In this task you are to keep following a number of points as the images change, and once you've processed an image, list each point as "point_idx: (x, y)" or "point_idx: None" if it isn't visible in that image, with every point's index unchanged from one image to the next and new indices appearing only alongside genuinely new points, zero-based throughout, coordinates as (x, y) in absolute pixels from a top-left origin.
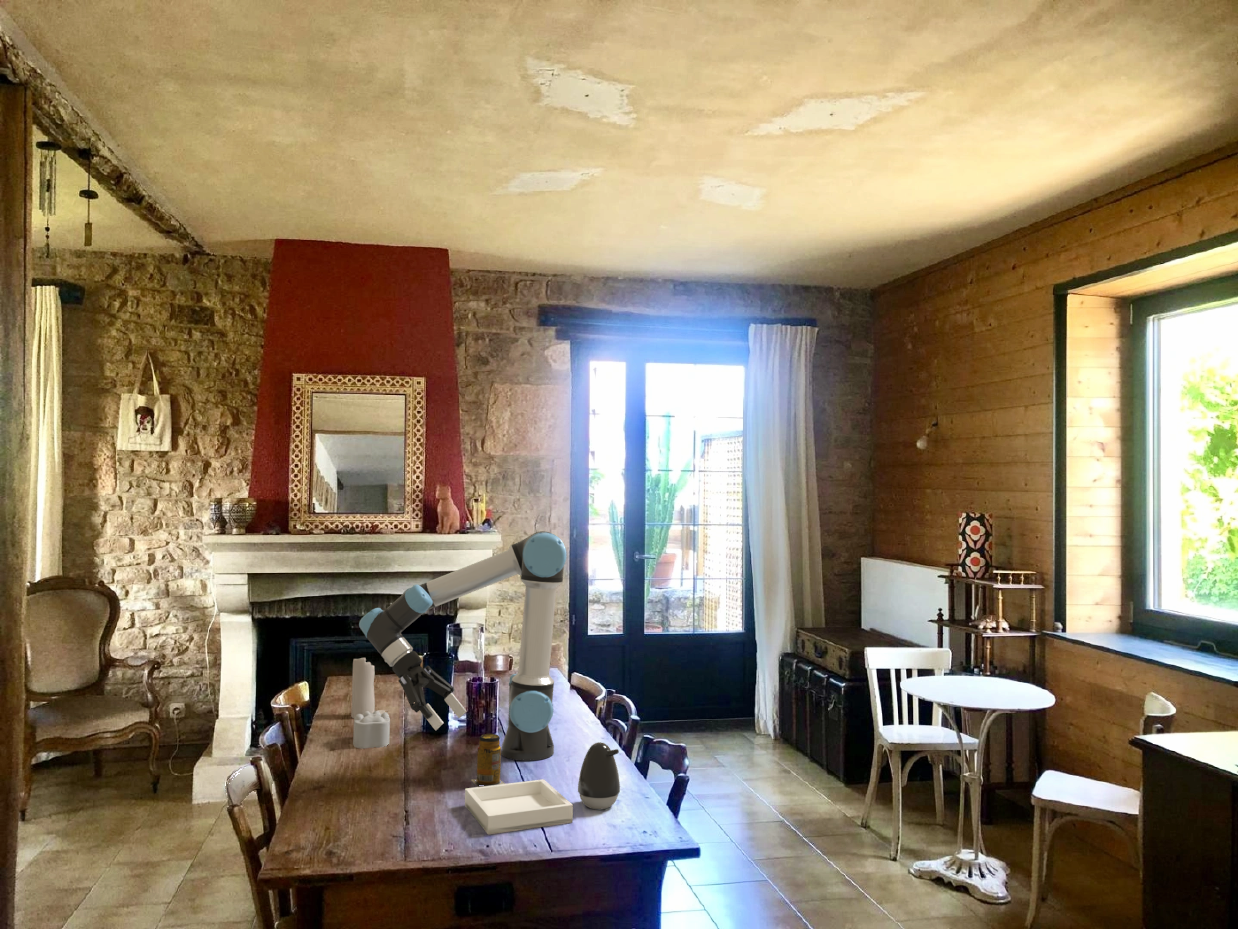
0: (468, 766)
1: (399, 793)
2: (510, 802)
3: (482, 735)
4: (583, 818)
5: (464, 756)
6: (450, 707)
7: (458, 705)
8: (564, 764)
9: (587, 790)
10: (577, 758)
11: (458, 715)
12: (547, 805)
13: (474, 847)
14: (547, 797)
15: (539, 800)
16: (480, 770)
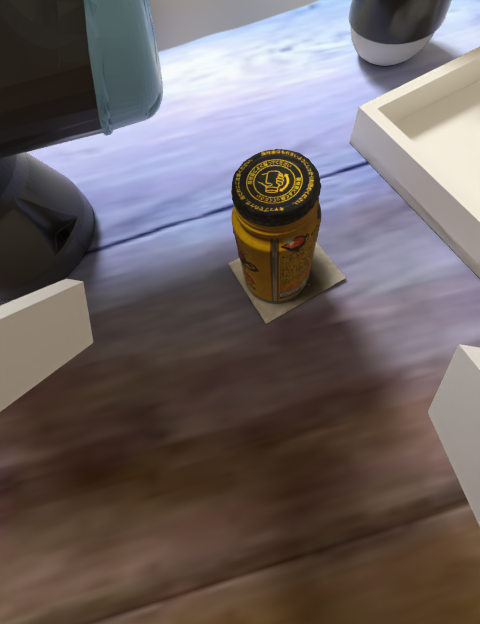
0: (134, 363)
1: (450, 533)
2: (457, 176)
3: (268, 207)
4: None
5: (33, 400)
6: (10, 402)
7: (25, 322)
8: (121, 150)
9: (449, 4)
10: None
11: (79, 341)
12: (446, 107)
13: None
14: (411, 110)
15: (418, 127)
16: (308, 269)
